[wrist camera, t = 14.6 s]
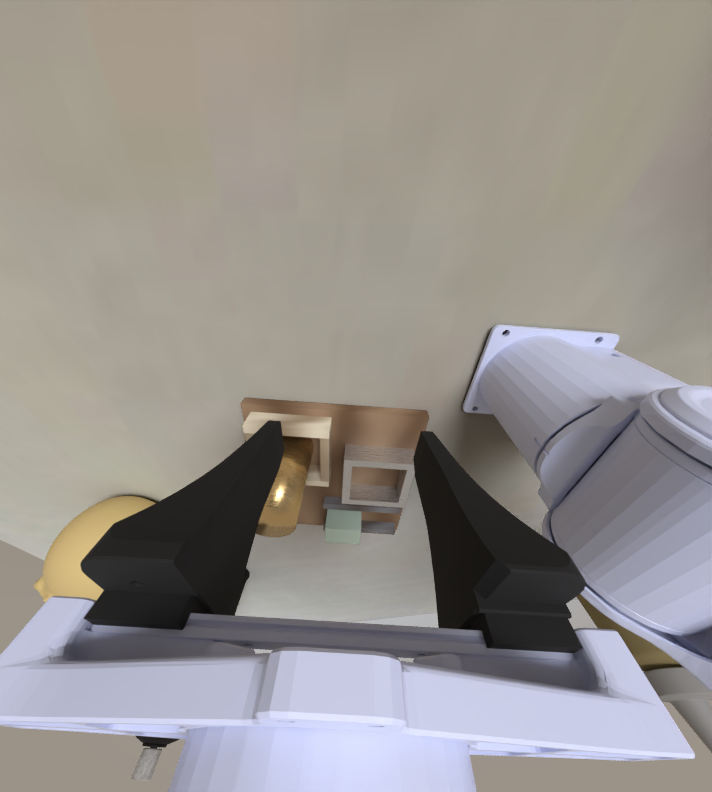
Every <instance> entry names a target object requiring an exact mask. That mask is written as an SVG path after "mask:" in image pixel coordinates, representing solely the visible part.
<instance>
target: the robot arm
mask: <svg viewBox="0 0 712 792" xmlns="http://www.w3.org/2000/svg"><path fill="white" fill-rule="evenodd" d="M505 330H507V333H506V334H504V335H502V333H503V332H504V331H505ZM598 337H599V338H598ZM597 338H598V340H596V339H597ZM595 340H596V341H595ZM618 341H619V336H618V335H616V334H614V333H604V332H591V331H577V330H564V329H551V328H538V327H525V326H512V325H496V326H494V327H493V328H492V329H491V331H490V334H489V337H488V339H487V342H486V345H485V348H484V350H483V353H482V356H481V358H480V361H479V364H478V366H477V369H476V372H475V374H474V377H473V380H472V382H471V385H470V388H469V390H468V393H467V396H466V398H465V401H464V404H463V410H464V411H465V412H467V413H480V414H494V416H495V417H496V419H497V420H498V422H499V423H500V424H501V426H502V427H503V429H504V430H505V431H506V433H507V434H508V436H509V437H510V439H511V440H512V441H513V443H514V444H515V446H516V447H517V449H518V450H519V451H520V453H521V454H522V456H523V457H524V459H525V460H526V461H527V463H528V464H529V466H530V467H531V468H532V470H533V471H534V473H535V474H536V476H537V477H538V478H539V480H540V482H541V486H540V489H539V491H538V494H539V495H540V497H541V498H542V500H543V501H544V503H545V504H546V506H547V507H548V509H549V511H548V512H547V514H546V515H545V517H544V519H543V523H542V533H543V536H541V535H540V534H538V533H537V532H536V531H534V530H533V529H531V528H530V527H529V526H527V525H526V524H524V523H523V522H522V521H520V520H519V519H518V518H516V517H515V516H514V515H512V514H511V513H510V512H509V511H507V510H506V509H505V508H504V507H503V506H501V505H500V504H499V503H498V502H497V501H495V500H494V499H493V498H492V497H491V496H490V495H489V494H488V493H486V492H485V491H484V490H483V489H482V488H481V487H480V486H479V485H478V484H477V483H476V482H475V481H474V480H473V479H472V478H471V477H470V476H469V475H468V474H467V473H466V472H465V471H464V469H463V468H462V467H461V466H460V465H459V464H458V463H457V461H456V460H455V459H454V458H453V457H452V455H451V454H450V453H449V452H448V451H447V449H446V448H445V447H444V445H443V444H442V443H441V442H440V440H439V439H438V438H437V436H436V435H435V434H434V433H433V432H429V431H421V433H420V436H419V440H418V443H417V447H416V450H415V454H414V458H413V461H414V471H415V478H416V482H417V486H418V490H419V494H420V498H421V502H422V507H423V511H424V515H425V519H426V524H427V529H428V535H429V542H430V549H431V557H432V565H433V573H434V582H435V591H436V602H437V613H438V625H439V628H430V627H413V626H396V625H380V624H364V623H347V622H331V621H314V620H298V619H281V618H264V617H248V616H235V611H236V607H237V603H238V598H239V594H240V590H241V586H242V581H243V578H244V574H245V570H246V566H247V562H248V558H249V554H250V551H251V547H252V544H253V540H254V536H255V533H256V530H257V526H258V523H259V520H260V516H261V514H262V511H263V508H264V505H265V503H266V501H267V498H268V496H269V493H270V491H271V488H272V486H273V483H274V481H275V478H276V476H277V473H278V471H279V468H280V465H281V461H282V457H283V453H284V443H283V435H282V427H281V421H272V420H269V421H267V422H266V423H265V424H264V425H263V426H262V427H261V428H260V429H259V430H258V431H257V432H256V433H255V434H254V435H253V436H251V437H250V438H249V439H248V440H247V441H246V442H245V443H244V444H243V445H242V446H241V447H239V448H238V449H237V450H236V451H235V452H234V453H232V454H231V455H230V456H229V457H227V458H226V459H225V460H224V461H223V462H221V463H220V464H219V465H217V466H216V467H215V468H213V469H212V470H211V471H209V472H208V473H206V474H205V475H203V476H202V477H200V478H199V479H197V480H196V481H194V482H192V483H191V484H189V485H187V486H186V487H184V488H183V489H181V490H179V491H178V492H176V493H174V494H172V495H171V496H169V497H167V498H165V499H163V500H161V501H159V502H158V503H156V504H154V505H152V506H150V507H148V508H146V509H144V510H142V511H139V512H137V513H135V514H133V515H131V516H129V517H127V518H125V519H122V520H120V521H118V522H116V523H114V524H113V525H112V526H111V527H110V528H109V529H108V531H107V532H106V533H105V534H104V535H103V536H102V538H101V539H100V540H99V541H98V542H97V543H96V545H95V546H94V547H93V548H92V549H91V550H90V552H89V553H88V554H87V555H86V556H85V557H84V559H83V560H82V561H81V563H80V566H81V570H82V572H83V573H84V574H85V575H86V576H87V577H89V578H90V579H91V580H92V581H93V582H95V583H96V584H97V585H98V586H100V587H101V588H102V589H103V590H104V591H103V592H102V594H101V595H100V596H99V598H98V599H97V601H96V600H93V599H90V598H84V597H69V596H52V597H50V598H49V599H48V600H47V601H46V603H45V604H44V605H43V606H42V608H40V610H39V611H38V612H37V613H36V614H35V615H34V617H33V618H32V619H31V620H30V621H29V622H28V624H27V625H26V626H25V627H24V628H23V629H22V631H21V632H20V633H19V634H18V635H17V636H16V638H15V639H14V640H13V641H12V642H11V643H10V645H9V646H8V647H7V648H6V649H5V650H4V652H3V653H2V654H1V655H0V726H8V727H14V728H29V729H45V730H63V731H77V732H92V733H107V734H121V735H134V736H148V737H161V738H175V739H186V741H185V744H184V747H183V750H182V753H181V755H180V758H179V761H178V764H177V767H176V770H175V773H174V776H173V778H172V781H171V784H170V787H169V790H168V792H477V790H476V786H475V781H474V775H473V770H472V765H471V761H470V755H497V756H499V755H501V756H527V757H554V758H578V759H602V760H621V761H645V760H671V759H694V757H695V754H694V752H693V751H692V749H691V747H690V746H689V744H688V743H687V741H686V740H685V738H684V736H683V735H682V733H681V732H680V730H679V728H678V727H677V725H676V724H675V722H674V721H673V719H672V717H671V716H670V714H669V713H668V711H667V709H666V708H665V706H664V705H663V703H662V701H661V700H660V698H659V697H658V695H657V693H656V692H655V690H654V689H653V687H652V686H651V684H650V682H649V681H648V679H647V678H646V676H645V674H644V673H643V671H642V670H641V668H640V666H639V665H638V663H637V662H636V660H635V659H634V657H633V655H632V654H631V652H630V651H629V649H628V647H627V646H626V644H625V643H624V641H623V640H622V638H621V636H620V635H619V633H618V632H617V631H615V630H613V629H596V628H578V629H574V630H573V628H572V626H571V624H570V622H569V620H568V618H571V613H570V611H569V609H568V607H567V605H566V603H567V602H569V601H570V600H572V599H573V598H575V597H576V596H578V595H579V594H581V595H582V596H583V597H584V598H585V599H586V600H587V601H588V602H589V603H590V604H591V605H593V606H594V607H595V608H596V609H598V610H599V611H600V612H601V613H603V614H604V615H605V616H607V617H608V618H610V619H611V620H613V621H614V622H615V623H617V624H618V625H620V626H622V627H624V628H625V629H627V630H629V631H631V632H633V633H634V634H636V635H638V636H640V637H642V638H643V639H645V640H647V641H649V642H650V643H652V644H653V645H655V646H656V647H658V648H659V649H661V650H662V651H664V652H665V653H666V654H668V655H669V656H670V657H672V658H673V659H674V660H676V661H677V662H678V663H679V664H680V665H682V666H683V667H684V668H685V669H686V670H687V671H689V672H690V673H691V674H692V675H693V676H694V677H696V678H697V679H698V680H699V681H700V682H701V683H702V684H703V685H704V686H706V687H707V688H708V689H709V690H710V691H711V692H712V387H709V386H690V385H688V384H686V383H684V382H682V381H679V380H677V379H675V378H673V377H671V376H669V375H667V374H665V373H663V372H661V371H658V370H656V369H654V368H652V367H650V366H648V365H646V364H644V363H642V362H639V361H637V360H635V359H633V358H631V357H629V356H627V355H625V354H623V353H620V352H618V351H616V350H614V349H613V348H614V347H615V346H616V344H617V343H618ZM473 407H476V408H474V409H472V408H473ZM253 649H266V650H273V651H272V652H271V653H262V654H255V652H254V650H253ZM397 657H403V658H415V659H414V661H413V662H414V663H411V662H405V661H400V660H399V659H398V658H397Z"/></svg>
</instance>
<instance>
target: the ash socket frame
mask: <svg viewBox="0 0 712 792" xmlns="http://www.w3.org/2000/svg"><path fill="white" fill-rule="evenodd" d="M269 420H272V421H281V427H282V435H283V436H294V437H309V438H320V465H310V467H309V472H308V476H307V481H306V485H308V486H323V487H329V481H330V474H331V437H332V417H320V416H305V415H291V414H277V413H263V412H250V414H249V416H248V417H247V419H246V420H245V422H244V423H243V425H242V428H243V432H244V436H245V441H247V440H248V439H249V438H250V437H251V436H253V435H254V434H255V433H256V432H257V431H258V430H259V429H260V428H261V427H262V426H263V425H264V424H265V423H266V422H267V421H269Z"/></svg>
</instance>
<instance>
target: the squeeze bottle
mask: <svg viewBox="0 0 712 792" xmlns="http://www.w3.org/2000/svg"><path fill="white" fill-rule="evenodd" d="M576 597H577V598H578V600H579V601H580V602H581V604H582V605H583V607H584V608H585V610H586V611H587V613H588V614H589V616H590V617H591V619H592V620H593V622H594V623H595V625H596V626H597V627H598V629H613V630H615V631H617V632H618V633H619V635H620V636H621V638H622V640H623V641H624V643H625V644H626V646H627V647H628V649H629V651H630V652H631V654H632V655H633V657H634V659H635V660H636V662H637V663H638V665H639V666H640V668H641V670H642V671H644V672H643V673H644V674H645V676H646V678H647V679H648V681H649V682H650V684H651V686H652V687H653V689H654V690H655V692H656V693H657V695H658V697H659V698H660V700H661V701H662V702H670V703H671V704H672V705H673V706H674V707H675V708H676V710H677V711H678V712H679V713H680V714H681V716H682V717H683V718H684V719H685V721H686V722H687V723H688V724H689V726H690V727H691V728H692V729H693V730H694V732H695V733H696V734H697V735H698V736H699V738H700V739H701V740H702V741H703V742H704V744H705V745H706V746H707V747H708V749H709V750H710V751H711V752H712V707H711V705H710V703H709V702H708V700H712V692H711V691H710V690H709V689H708V688H707V687H706V686H704V685H703V684H702V683H701V682H700V681H699V680H698V679H697V678H696V677H694V676H693V675H692V674H691V673H690V672H689V671H687V670H686V669H685V668H684V667H683V666H682V665H680V664H679V663H678V662H677V661H676V660H674V659H673V658H672V657H670V656H669V655H668V654H666V653H665V652H664V651H662V650H661V649H659V648H658V647H656V646H655V645H653V644H652V643H650V642H649V641H647V640H645V639H643V638H642V637H640V636H638V635H636V634H634V633H633V632H631V631H629V630H627V629H625V628H624V627H622V626H620V625H618V624H617V623H615V622H614V621H613V620H611V619H610V618H608V617H607V616H605V615H604V614H603V613H601V612H600V611H599V610H598V609H596V608H595V607H594V606H593V605H591V604H590V603H589V602H588V601H587V600H586V599H585V598H584V597H583V596H582V595H581V594H579V595H578V596H576Z"/></svg>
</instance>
